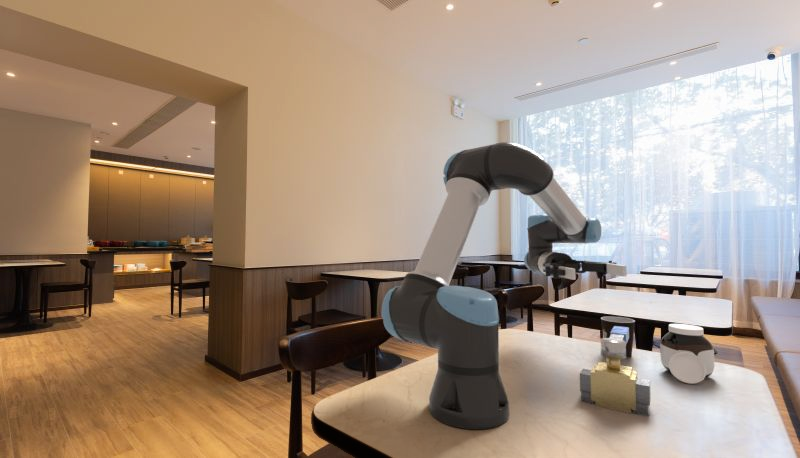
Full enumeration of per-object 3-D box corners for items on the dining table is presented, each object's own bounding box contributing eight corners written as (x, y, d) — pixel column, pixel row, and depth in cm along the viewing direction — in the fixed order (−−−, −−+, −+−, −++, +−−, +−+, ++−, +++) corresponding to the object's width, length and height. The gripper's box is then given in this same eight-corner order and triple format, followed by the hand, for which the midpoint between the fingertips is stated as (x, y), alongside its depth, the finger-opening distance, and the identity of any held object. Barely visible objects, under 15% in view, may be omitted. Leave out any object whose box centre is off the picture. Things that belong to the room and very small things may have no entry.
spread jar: (696, 369, 94) (694, 323, 95) (734, 386, 83) (732, 334, 83) (648, 369, 95) (646, 323, 95) (680, 386, 83) (678, 334, 84)
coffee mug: (634, 361, 101) (633, 324, 101) (599, 355, 106) (598, 320, 107) (638, 350, 110) (637, 317, 111) (605, 346, 116) (604, 313, 116)
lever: (599, 356, 74) (599, 341, 74) (611, 336, 90) (610, 324, 90) (625, 360, 72) (624, 345, 72) (632, 339, 87) (632, 326, 87)
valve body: (579, 401, 76) (578, 354, 76) (584, 391, 80) (583, 348, 81) (649, 417, 69) (648, 366, 69) (651, 405, 73) (649, 357, 74)
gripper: (594, 274, 115) (646, 284, 94) (517, 279, 113) (552, 290, 92) (593, 250, 115) (645, 255, 94) (516, 254, 113) (551, 260, 92)
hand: (599, 272), depth 93 cm, fingers open, 13 cm apart
